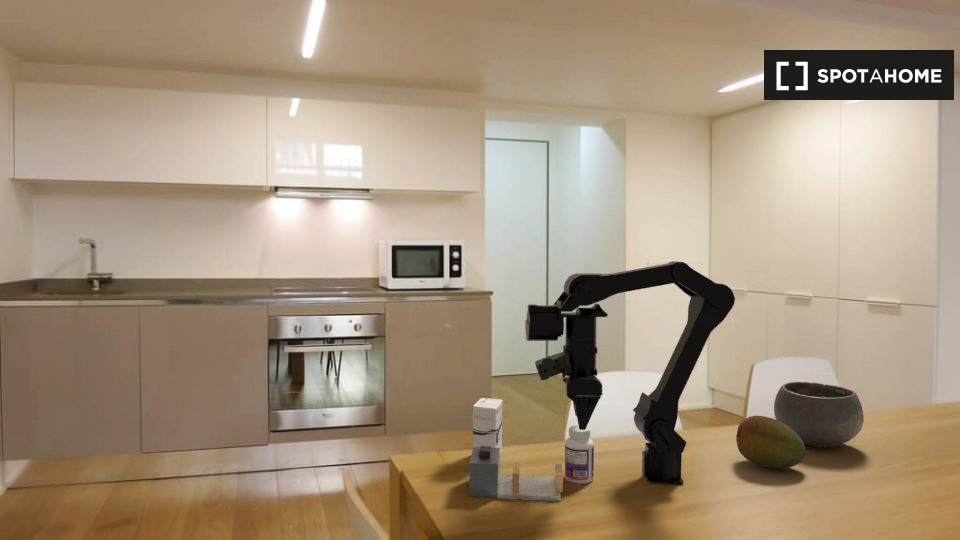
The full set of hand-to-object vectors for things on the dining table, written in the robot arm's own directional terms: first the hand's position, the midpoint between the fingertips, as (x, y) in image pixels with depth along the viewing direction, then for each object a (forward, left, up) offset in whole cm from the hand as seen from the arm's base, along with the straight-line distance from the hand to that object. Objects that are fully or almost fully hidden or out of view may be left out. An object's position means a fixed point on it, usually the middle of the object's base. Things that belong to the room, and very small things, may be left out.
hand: (580, 422), depth 124 cm
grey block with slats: (+12, +6, -11) cm, 17 cm away
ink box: (+18, -10, -11) cm, 23 cm away
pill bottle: (0, 0, -11) cm, 11 cm away
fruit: (-39, -11, -11) cm, 42 cm away
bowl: (-55, -27, -11) cm, 62 cm away
